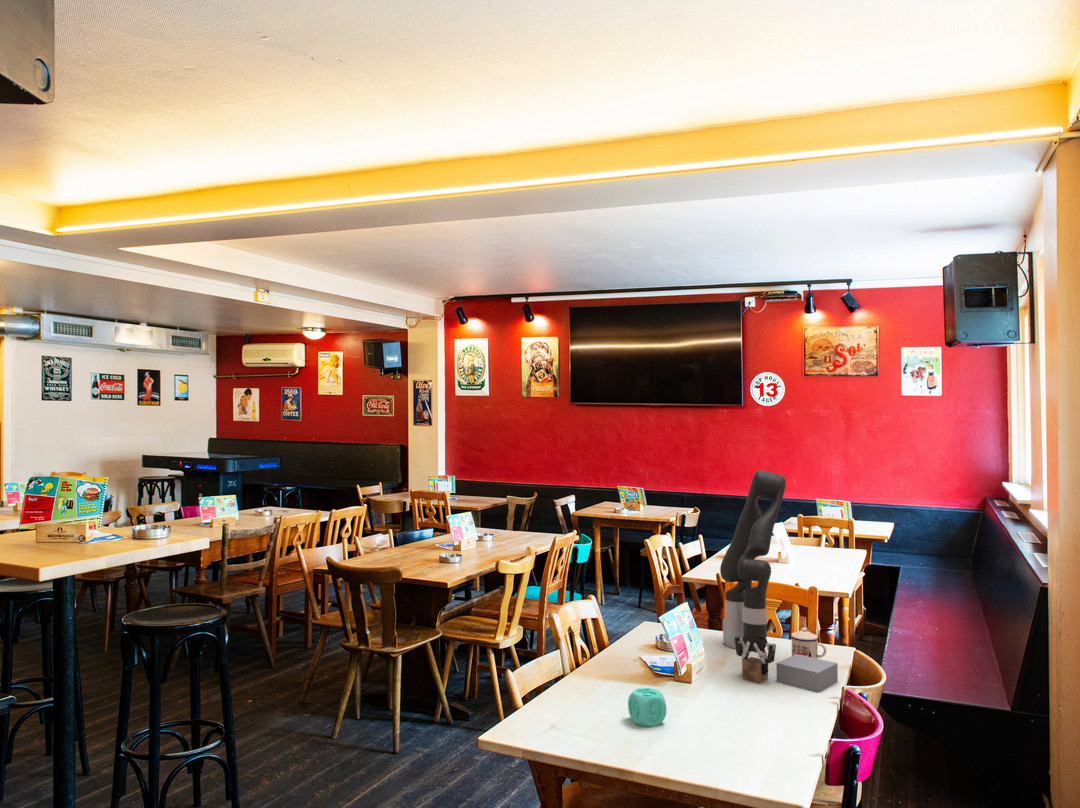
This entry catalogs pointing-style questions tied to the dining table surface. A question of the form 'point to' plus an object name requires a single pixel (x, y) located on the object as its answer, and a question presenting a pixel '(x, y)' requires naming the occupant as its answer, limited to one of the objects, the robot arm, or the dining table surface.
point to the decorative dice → (647, 707)
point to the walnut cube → (753, 670)
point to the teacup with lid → (806, 644)
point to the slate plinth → (807, 672)
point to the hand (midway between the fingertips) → (755, 672)
